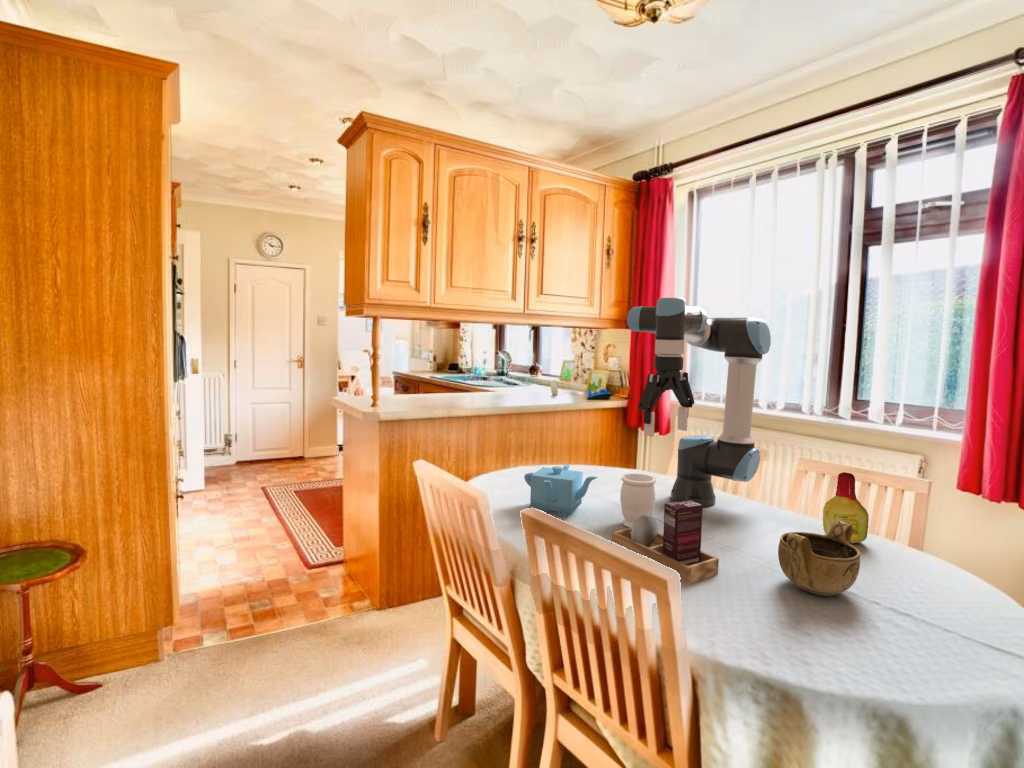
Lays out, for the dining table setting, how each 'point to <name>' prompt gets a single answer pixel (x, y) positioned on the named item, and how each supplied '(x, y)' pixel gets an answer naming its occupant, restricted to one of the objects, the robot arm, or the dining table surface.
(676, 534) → the supplement box
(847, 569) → the ceramic bowl
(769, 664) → the dining table surface
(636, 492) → the jar
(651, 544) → the tray
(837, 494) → the bottle
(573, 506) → the teakettle
